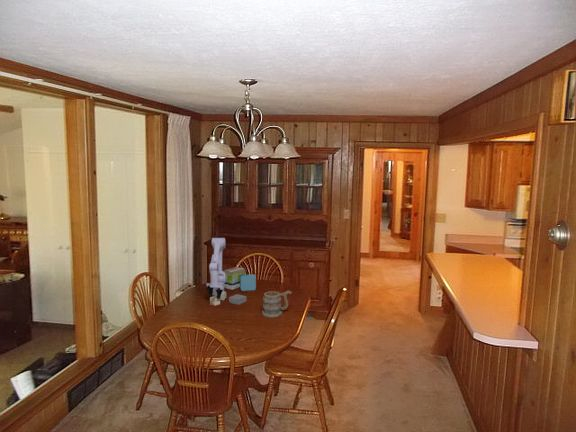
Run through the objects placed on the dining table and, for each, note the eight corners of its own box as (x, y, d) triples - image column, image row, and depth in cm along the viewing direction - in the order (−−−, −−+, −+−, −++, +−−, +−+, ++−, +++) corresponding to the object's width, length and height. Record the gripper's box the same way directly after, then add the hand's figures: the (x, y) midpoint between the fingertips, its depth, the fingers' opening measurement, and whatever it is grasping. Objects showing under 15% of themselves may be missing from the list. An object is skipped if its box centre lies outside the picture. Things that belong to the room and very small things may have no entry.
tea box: (232, 290, 327) (232, 272, 325) (223, 287, 333) (223, 270, 331) (245, 285, 339) (245, 268, 337) (236, 283, 345) (236, 266, 343)
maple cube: (210, 304, 295) (209, 297, 294) (215, 302, 299) (214, 295, 298) (215, 305, 292) (215, 299, 291) (220, 303, 296) (219, 297, 295)
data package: (255, 288, 332) (255, 274, 330) (255, 290, 327) (255, 275, 326) (240, 289, 329) (240, 274, 328) (240, 291, 325) (240, 276, 324)
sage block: (217, 299, 305) (217, 293, 304) (219, 297, 310) (219, 291, 309) (223, 300, 304) (223, 293, 303) (226, 298, 308) (226, 291, 308)
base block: (228, 302, 299) (228, 297, 299) (236, 299, 307) (236, 294, 306) (238, 305, 294) (238, 299, 294) (246, 301, 302) (246, 296, 301)
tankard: (264, 318, 269) (264, 295, 267) (260, 311, 281) (260, 290, 279) (294, 315, 275) (294, 293, 273) (289, 308, 287) (289, 287, 285)
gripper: (203, 278, 294) (203, 297, 295) (218, 282, 286) (218, 301, 287) (210, 276, 300) (210, 294, 301) (225, 279, 291) (225, 298, 293)
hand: (214, 297), depth 295 cm, fingers open, 7 cm apart
